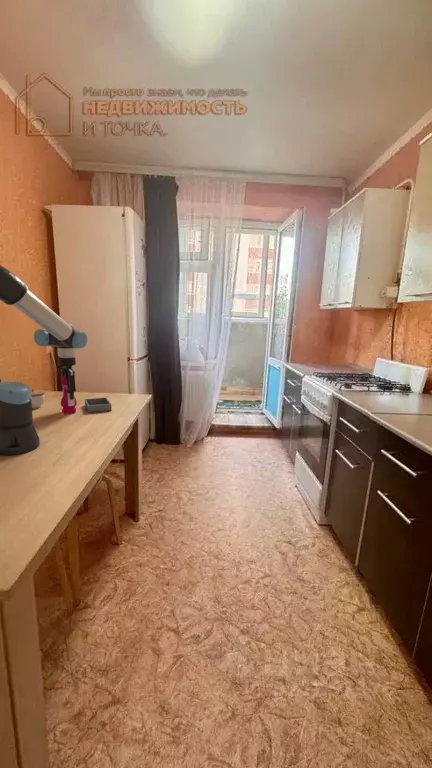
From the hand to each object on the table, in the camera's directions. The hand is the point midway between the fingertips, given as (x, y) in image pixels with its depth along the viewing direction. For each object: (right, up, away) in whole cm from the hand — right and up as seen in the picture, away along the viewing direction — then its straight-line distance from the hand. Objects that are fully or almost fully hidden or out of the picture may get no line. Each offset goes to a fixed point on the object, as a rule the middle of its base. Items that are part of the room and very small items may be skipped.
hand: (68, 403), depth 166 cm
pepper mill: (0, -4, +1) cm, 4 cm away
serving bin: (+11, -3, +10) cm, 15 cm away
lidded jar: (-21, -2, +8) cm, 22 cm away
